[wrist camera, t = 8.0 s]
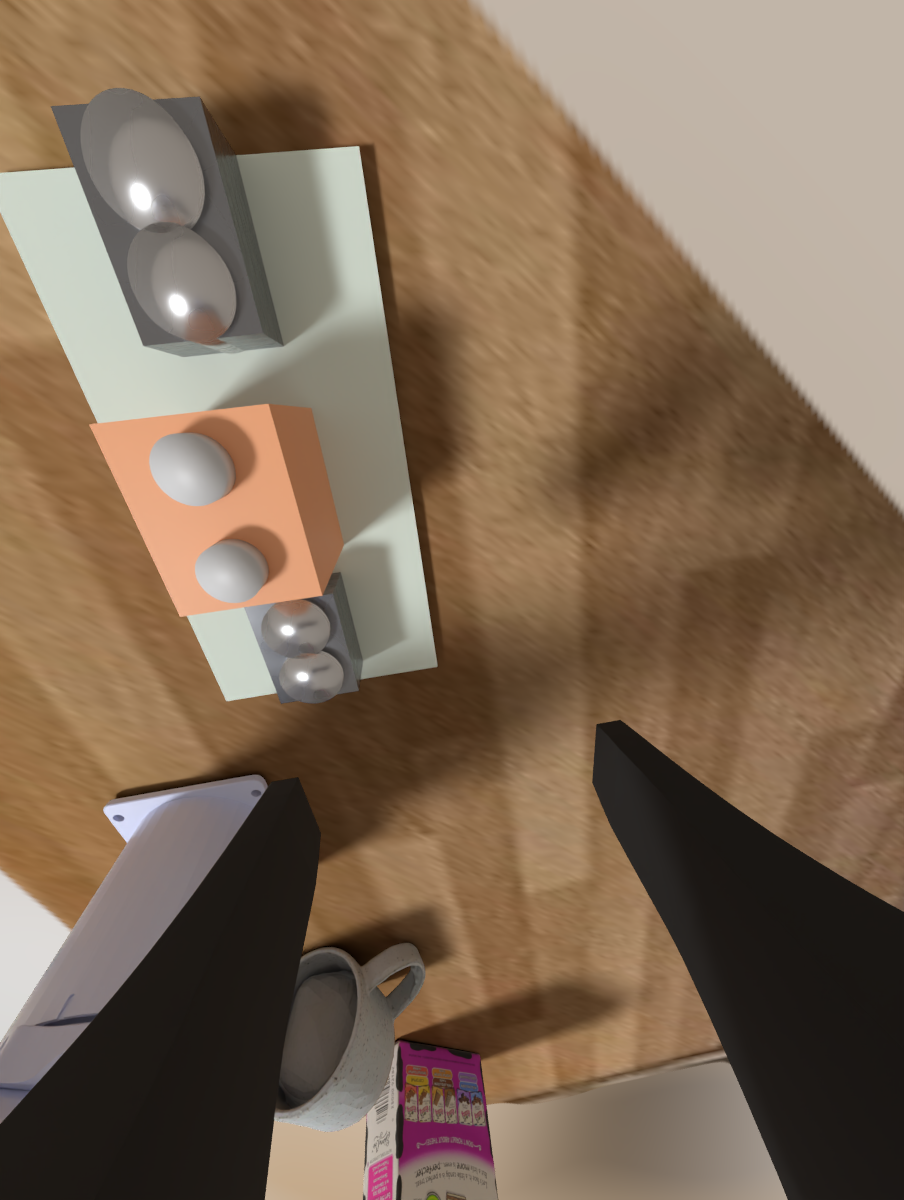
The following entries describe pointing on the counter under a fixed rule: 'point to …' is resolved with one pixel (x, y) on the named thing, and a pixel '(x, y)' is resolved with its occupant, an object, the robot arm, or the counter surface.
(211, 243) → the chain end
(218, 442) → the orange block with knobs
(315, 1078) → the ceramic mug
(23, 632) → the counter surface
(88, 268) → the mat
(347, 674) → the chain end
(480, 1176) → the candy bar box
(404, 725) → the counter surface
